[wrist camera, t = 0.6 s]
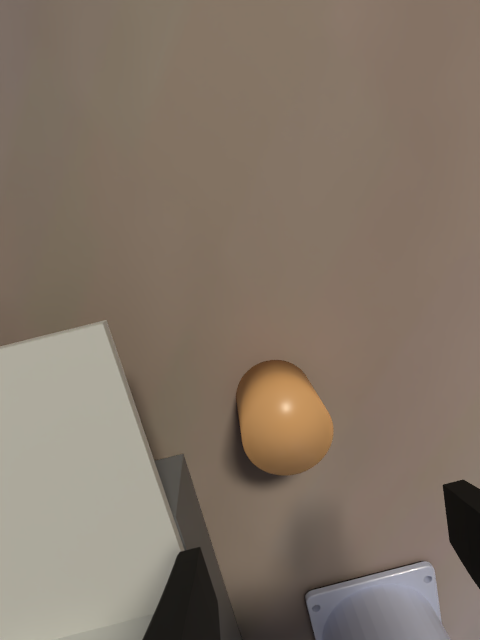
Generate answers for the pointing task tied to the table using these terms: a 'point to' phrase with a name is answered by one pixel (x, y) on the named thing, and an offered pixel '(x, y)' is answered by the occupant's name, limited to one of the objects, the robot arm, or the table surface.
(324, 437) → the tan rounded capsule
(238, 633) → the box
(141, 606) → the lid
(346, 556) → the table surface
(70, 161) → the table surface
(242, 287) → the table surface
